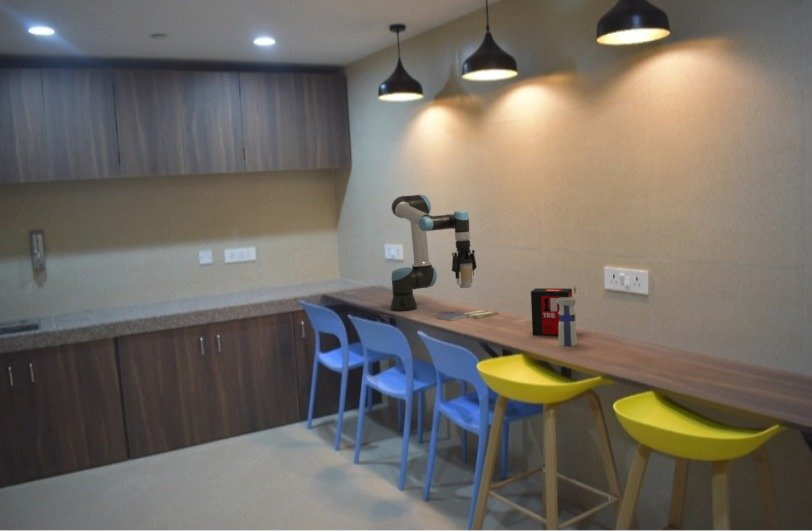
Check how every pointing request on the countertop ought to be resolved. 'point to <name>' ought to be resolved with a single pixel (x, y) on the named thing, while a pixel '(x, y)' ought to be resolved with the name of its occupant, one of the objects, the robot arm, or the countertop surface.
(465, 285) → the coffee cup
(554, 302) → the cleaning product box
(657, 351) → the countertop surface
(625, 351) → the countertop surface
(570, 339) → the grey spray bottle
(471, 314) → the board
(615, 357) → the countertop surface
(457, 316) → the ink pad
